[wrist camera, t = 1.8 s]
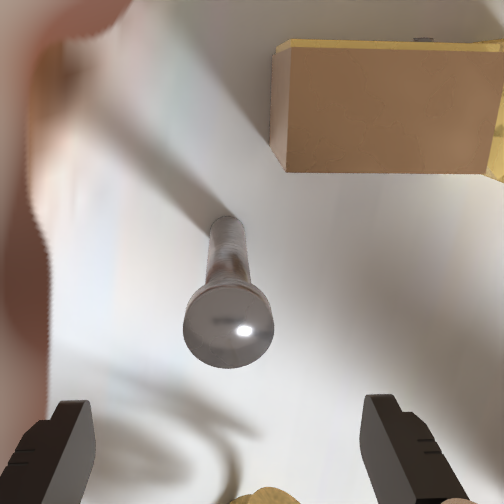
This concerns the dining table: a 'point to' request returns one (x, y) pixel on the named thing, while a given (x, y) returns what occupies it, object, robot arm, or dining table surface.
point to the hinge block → (388, 107)
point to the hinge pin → (228, 304)
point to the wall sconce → (266, 497)
